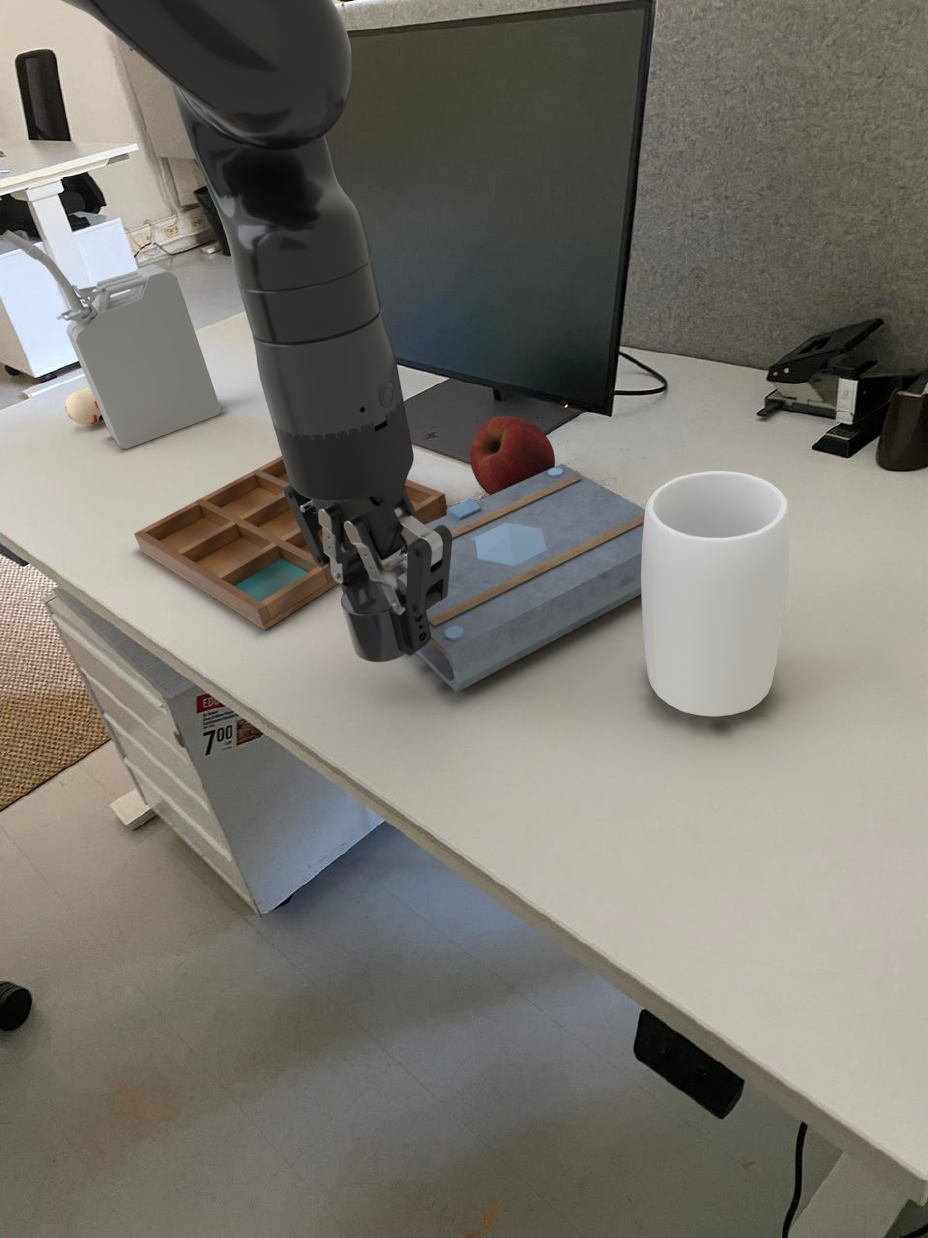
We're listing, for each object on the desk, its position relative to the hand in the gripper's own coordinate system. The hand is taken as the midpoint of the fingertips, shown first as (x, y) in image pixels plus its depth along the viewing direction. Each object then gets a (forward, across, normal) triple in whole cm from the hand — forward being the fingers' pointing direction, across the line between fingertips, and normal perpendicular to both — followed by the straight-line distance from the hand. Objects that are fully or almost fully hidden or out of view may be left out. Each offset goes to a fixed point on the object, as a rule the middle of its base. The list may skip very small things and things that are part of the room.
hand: (390, 632), depth 59 cm
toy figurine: (+5, -70, +13) cm, 71 cm away
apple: (+5, -11, +24) cm, 27 cm away
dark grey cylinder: (0, 0, -1) cm, 1 cm away
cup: (+5, +17, +12) cm, 22 cm away
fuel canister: (+5, -60, +13) cm, 61 cm away
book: (+5, -1, +13) cm, 14 cm away
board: (+5, -25, +8) cm, 27 cm away
